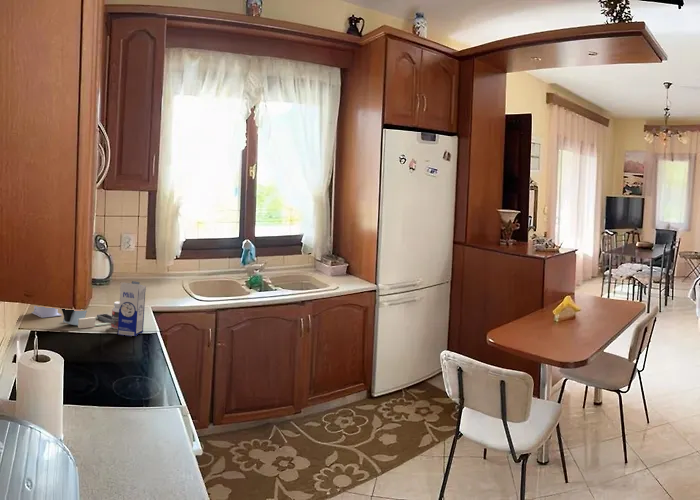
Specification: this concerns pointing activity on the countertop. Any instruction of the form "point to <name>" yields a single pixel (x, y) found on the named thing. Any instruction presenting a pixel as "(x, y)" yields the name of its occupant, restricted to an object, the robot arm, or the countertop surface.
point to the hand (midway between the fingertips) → (67, 321)
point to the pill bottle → (115, 315)
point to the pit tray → (105, 318)
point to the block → (76, 317)
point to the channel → (89, 322)
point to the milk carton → (131, 309)
